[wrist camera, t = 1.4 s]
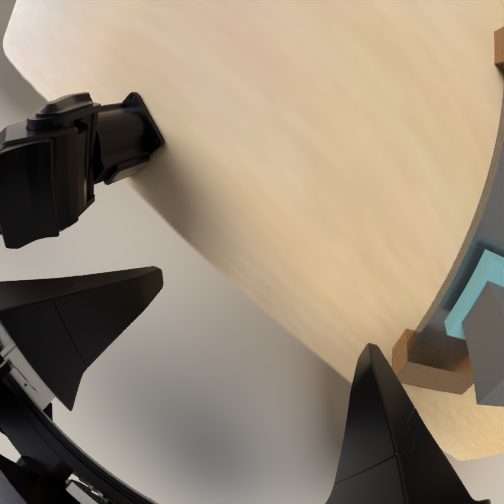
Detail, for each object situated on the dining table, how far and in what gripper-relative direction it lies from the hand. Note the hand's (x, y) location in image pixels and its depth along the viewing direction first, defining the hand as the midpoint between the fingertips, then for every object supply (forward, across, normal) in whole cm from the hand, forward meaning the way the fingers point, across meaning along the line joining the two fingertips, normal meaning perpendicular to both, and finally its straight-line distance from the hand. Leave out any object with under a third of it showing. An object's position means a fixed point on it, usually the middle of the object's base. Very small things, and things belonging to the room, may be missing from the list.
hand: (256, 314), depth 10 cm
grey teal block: (+10, +16, -1) cm, 19 cm away
